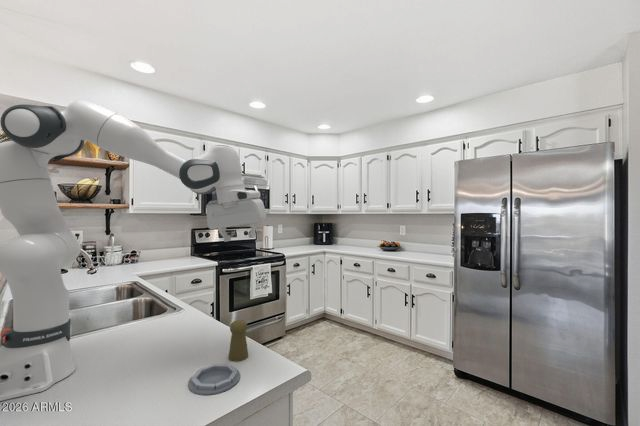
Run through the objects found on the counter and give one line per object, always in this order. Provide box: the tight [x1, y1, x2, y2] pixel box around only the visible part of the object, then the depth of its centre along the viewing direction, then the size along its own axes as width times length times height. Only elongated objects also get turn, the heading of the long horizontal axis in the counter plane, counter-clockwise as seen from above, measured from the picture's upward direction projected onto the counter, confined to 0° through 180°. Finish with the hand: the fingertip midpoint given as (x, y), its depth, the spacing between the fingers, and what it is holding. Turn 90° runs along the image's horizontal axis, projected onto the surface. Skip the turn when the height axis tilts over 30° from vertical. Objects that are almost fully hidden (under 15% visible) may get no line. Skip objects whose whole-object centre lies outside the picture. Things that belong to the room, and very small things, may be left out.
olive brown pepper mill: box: [227, 319, 249, 363], centre depth 92 cm, size 6×6×11 cm
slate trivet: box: [187, 363, 241, 396], centre depth 79 cm, size 13×13×2 cm
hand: (239, 239), depth 95 cm, fingers open, 8 cm apart
